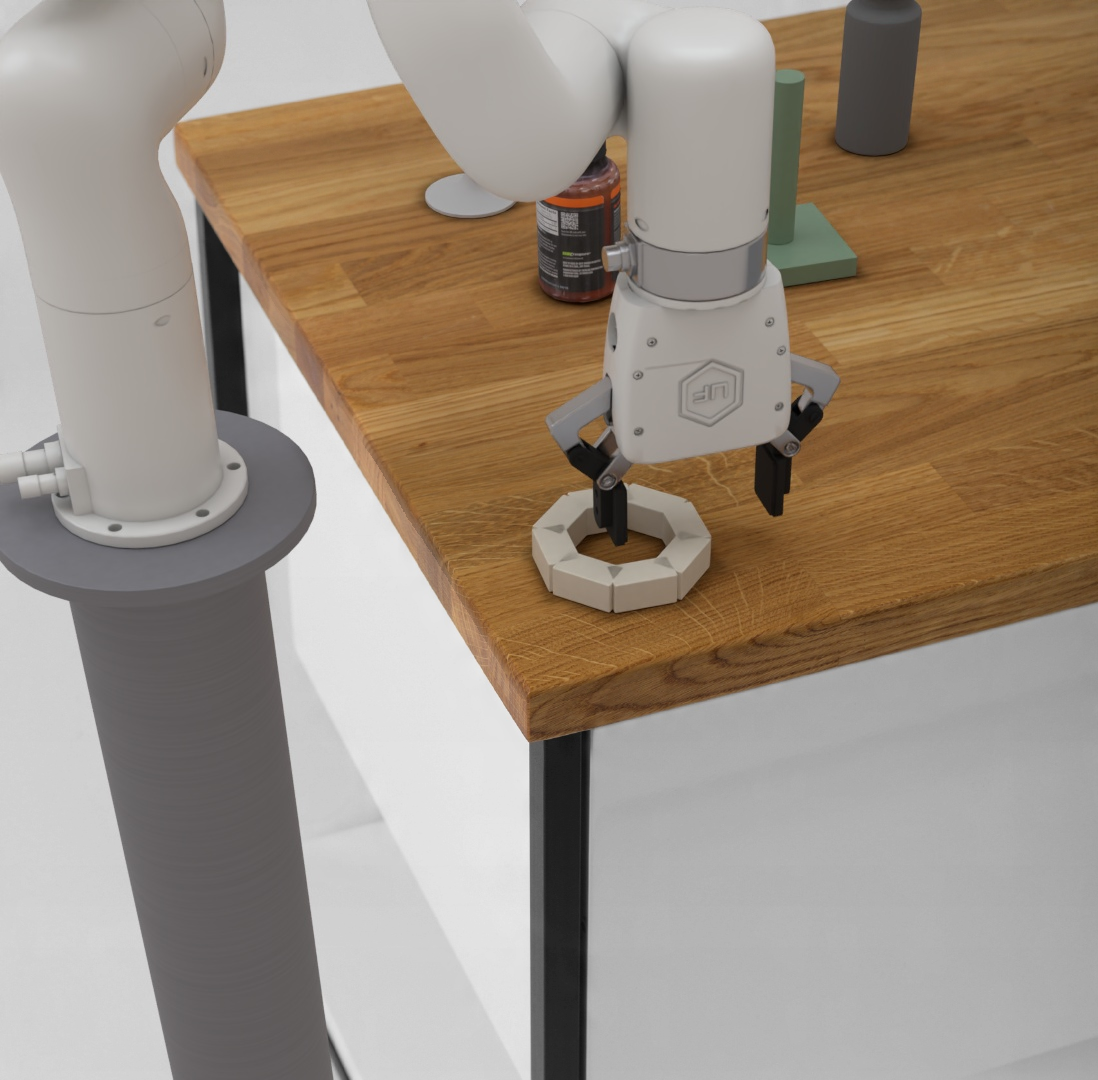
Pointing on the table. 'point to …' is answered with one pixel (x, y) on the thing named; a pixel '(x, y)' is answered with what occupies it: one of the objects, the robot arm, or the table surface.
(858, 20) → the bottle
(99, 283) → the robot arm
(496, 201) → the wineglass
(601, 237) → the supplement bottle
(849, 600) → the table surface
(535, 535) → the ring
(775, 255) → the stand
